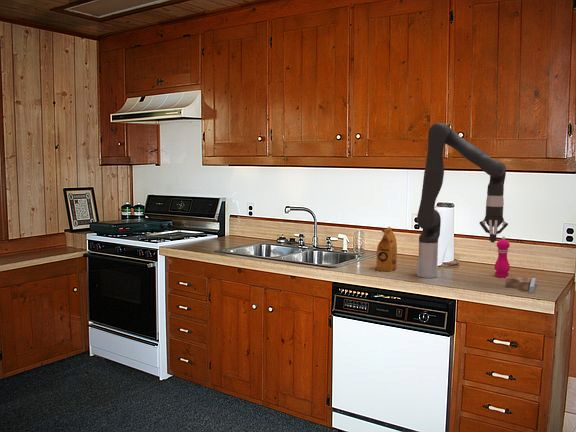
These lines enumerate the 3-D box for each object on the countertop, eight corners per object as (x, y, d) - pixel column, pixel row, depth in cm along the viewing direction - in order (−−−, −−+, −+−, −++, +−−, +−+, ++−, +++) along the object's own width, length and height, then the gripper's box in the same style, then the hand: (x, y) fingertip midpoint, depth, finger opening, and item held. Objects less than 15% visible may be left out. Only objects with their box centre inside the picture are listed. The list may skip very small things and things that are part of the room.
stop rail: (529, 293, 244) (529, 286, 244) (532, 284, 260) (532, 277, 260) (532, 293, 243) (533, 286, 243) (535, 284, 259) (535, 278, 259)
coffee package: (373, 270, 290) (373, 228, 287) (381, 266, 301) (382, 226, 298) (391, 272, 285) (392, 230, 282) (399, 268, 296) (400, 227, 293)
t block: (504, 288, 252) (504, 280, 251) (507, 282, 262) (507, 274, 262) (528, 291, 247) (528, 282, 247) (530, 285, 258) (530, 277, 257)
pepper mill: (505, 274, 280) (507, 235, 278) (512, 277, 273) (513, 237, 270) (491, 274, 280) (493, 235, 277) (497, 278, 273) (499, 237, 270)
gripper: (478, 205, 256) (476, 242, 258) (509, 206, 250) (506, 244, 252) (480, 203, 262) (479, 239, 265) (510, 205, 256) (508, 242, 259)
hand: (492, 242), depth 258 cm, fingers closed
